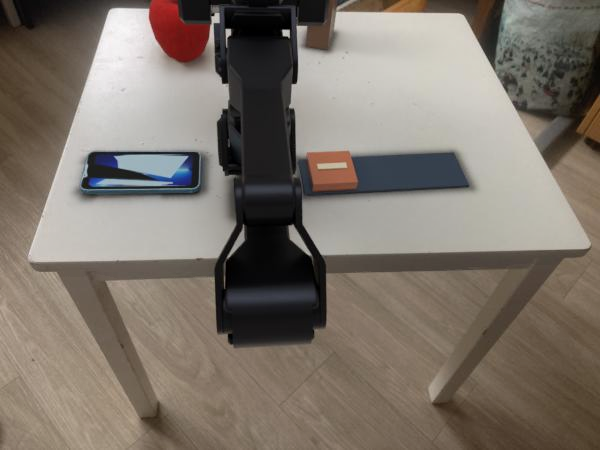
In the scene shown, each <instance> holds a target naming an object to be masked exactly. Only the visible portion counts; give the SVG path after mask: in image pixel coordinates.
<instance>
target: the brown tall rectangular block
mask: <svg viewBox="0 0 600 450" xmlns="http://www.w3.org/2000/svg"><path fill="white" fill-rule="evenodd" d="M338 1H339V0H330V2H329V12H328V20H327V22H326V23H325V24H324V25H323V26H306V37H305V47H307V48H314V49H318V50H323V51H328V50H329V48H330V45H331V43H332V42H331V41H332V39H333V36H334V34H335V26H336V17H337V9H338Z"/></svg>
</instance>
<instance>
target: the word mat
mask: <svg viewBox="0 0 600 450" xmlns="http://www.w3.org/2000/svg"><path fill="white" fill-rule="evenodd" d="M351 159H352V162H353V166H354V169H355V173H356V176H357V180H358V184H357V188H356V189H354V190H335V191H317V192H312V187H311V182H310V177H309V172H308V167H307V162H306V158H299V159H298V165H299V171H300V176H301V183H302V187H303V193H304V196H305V197H310V196H327V195H344V194H345V195H347V194H363V193H366V194H367V193H381V192H382V193H384V192H401V191H418V190H434V189H435V190H437V189H453V188H455V189H456V188H469V186H470V183H469V181H468V179H467V177H466V174H465V172H464V171H463V169H462V166H461V164H460V162H459V159H458V158H457V155H456V154H455V152H454V151H453V152H452V151H451V152H432V153H431V152H429V153H407V154H386V155H385V154H384V155H383V154H382V155H365V156H351Z"/></svg>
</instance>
